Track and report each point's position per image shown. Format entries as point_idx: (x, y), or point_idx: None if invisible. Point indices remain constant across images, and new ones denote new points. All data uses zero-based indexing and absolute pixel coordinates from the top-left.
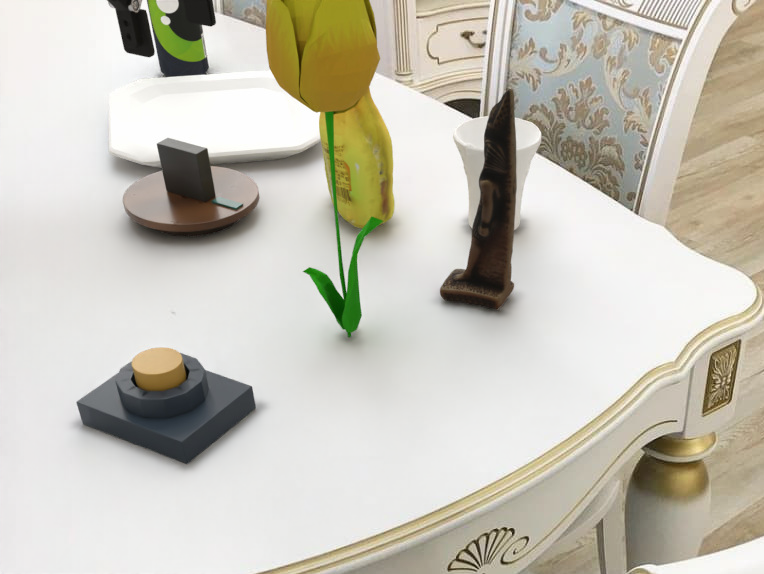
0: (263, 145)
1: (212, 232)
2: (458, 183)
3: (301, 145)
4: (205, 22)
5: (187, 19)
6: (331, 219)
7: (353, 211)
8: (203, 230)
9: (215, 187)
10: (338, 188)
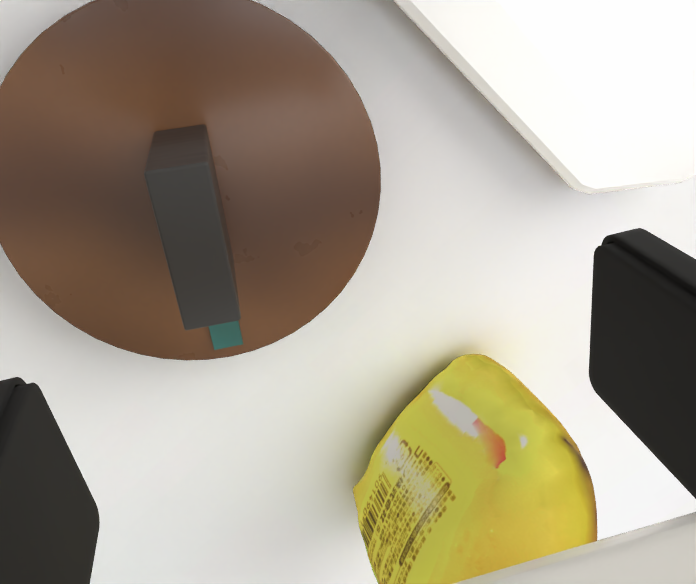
0: (549, 113)
1: None
2: (624, 449)
3: (595, 190)
4: (598, 361)
5: (600, 251)
6: (379, 404)
7: (358, 519)
8: None
9: (267, 219)
10: (379, 507)
